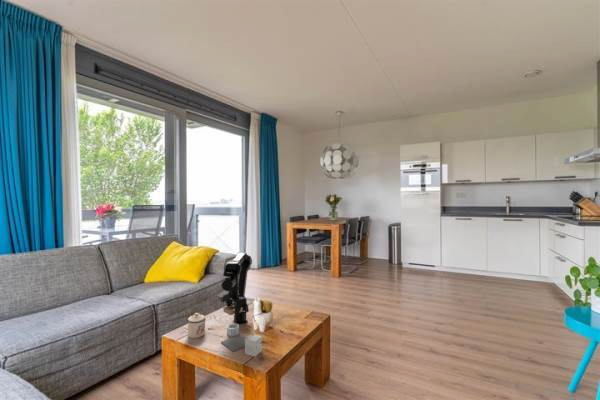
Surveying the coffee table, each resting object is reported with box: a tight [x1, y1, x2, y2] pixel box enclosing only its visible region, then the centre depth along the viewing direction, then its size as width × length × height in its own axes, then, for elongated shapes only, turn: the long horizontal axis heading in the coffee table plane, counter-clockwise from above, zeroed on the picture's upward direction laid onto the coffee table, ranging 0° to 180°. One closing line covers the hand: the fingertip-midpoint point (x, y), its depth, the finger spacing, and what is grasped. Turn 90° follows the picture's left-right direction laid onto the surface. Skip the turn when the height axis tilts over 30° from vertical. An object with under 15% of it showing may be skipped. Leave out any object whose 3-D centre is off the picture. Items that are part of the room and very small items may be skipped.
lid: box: [222, 305, 243, 316], centre depth 161 cm, size 8×8×3 cm
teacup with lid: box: [187, 312, 206, 339], centre depth 161 cm, size 12×9×12 cm
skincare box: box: [244, 333, 263, 357], centre depth 141 cm, size 6×6×7 cm
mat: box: [220, 333, 247, 352], centre depth 150 cm, size 12×12×1 cm
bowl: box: [226, 323, 240, 337], centre depth 161 cm, size 6×6×4 cm
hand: (233, 313), depth 161 cm, fingers closed on lid, 7 cm apart
